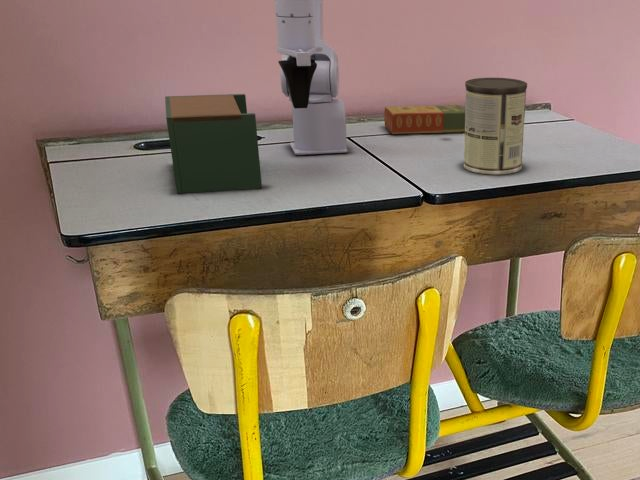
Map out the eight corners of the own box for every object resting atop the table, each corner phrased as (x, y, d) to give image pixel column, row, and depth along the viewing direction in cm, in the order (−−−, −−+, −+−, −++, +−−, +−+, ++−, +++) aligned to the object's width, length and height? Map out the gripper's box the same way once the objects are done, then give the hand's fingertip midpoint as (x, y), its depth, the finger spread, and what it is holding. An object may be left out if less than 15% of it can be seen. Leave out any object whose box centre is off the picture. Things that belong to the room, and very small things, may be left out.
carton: (384, 126, 169) (383, 105, 167) (458, 124, 173) (459, 103, 171) (392, 135, 162) (392, 113, 160) (469, 132, 166) (470, 110, 164)
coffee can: (472, 157, 148) (475, 75, 141) (528, 163, 145) (533, 79, 138) (454, 171, 139) (457, 84, 133) (513, 177, 137) (518, 89, 130)
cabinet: (251, 161, 142) (244, 93, 137) (262, 188, 128) (255, 114, 123) (174, 165, 139) (164, 96, 133) (177, 193, 125) (166, 117, 119)
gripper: (328, 20, 121) (333, 115, 127) (312, 11, 133) (317, 98, 139) (280, 20, 119) (287, 116, 125) (269, 11, 131) (275, 100, 137)
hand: (300, 107), depth 132 cm, fingers closed
